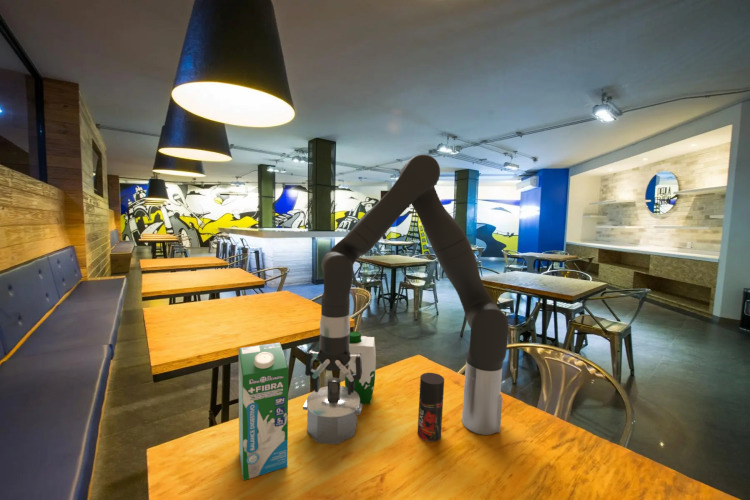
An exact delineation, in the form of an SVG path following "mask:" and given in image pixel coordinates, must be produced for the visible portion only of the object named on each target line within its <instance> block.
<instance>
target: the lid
mask: <svg viewBox="0 0 750 500" xmlns="http://www.w3.org/2000/svg"><path fill="white" fill-rule="evenodd" d="M306 400H307V408H308V410H309V411H310V412H311V413H312V414H314V415H316V416H319V417H322V418H341V417H345V416H348V415H350V414H352V413H353V412H355V411H356V410H357V409H358V407H359V405H360V397H359V395H358V393H357V392H356V391H353V393H351V395H348V387H345V385H344V386H343V385H341V379H340V378H339V377H331V378H329V379H327V386H322V387H320V389H319V391H318V392H315V390H313V391H312V392H311V393H309V395H307V398H306Z"/></svg>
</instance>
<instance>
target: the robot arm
mask: <svg viewBox="0 0 750 500" xmlns="http://www.w3.org/2000/svg"><path fill="white" fill-rule="evenodd" d="M440 175H441V168H440V164H439V162H438V161H437V159H435V158H434V157H433V156H431V155H429V154H426V153H425V154H423V153H422V154H416V155H415V156H413V157H410V158H409V159H408V160H407V161H406V163H405V164H404V165H403V166H402V168H401V170H400V171H399V175H398V178H397V179H396V181H395V182H394V183H393V185H392V186H391V188H390V189H389V190H388V191H387V192H386V193H385V194H384V195H383V197H381V199H379V200H378V201H377V202H376V203H375V204H374V205H373V206H372V207H371V208H370V209H369V210H368V211H367V212H366V213H365V214H364V215H363V216H362V217H360V219H359V220H358V222H356V224H355V225H354V226H353V227H352V228H351V229H350V230H349V232H347V234H346V235H345V236H344V237H343V238H342V239H341V240H339V241H338V242H337V243H336V244H335V245H334V246H333V247H331V248H330V249H329V250H328V252H326V254H325V255H324V256H323V258H322V260H321V263H320V266H321V270H322V273H323V293H322V294H321V303H320V304H321V305H320V306H321V307H320V308H321V313H320V322H319V351H314V349H310V350H308V352H307V354H306V357H305V358H306V359H305V360H306V361H305V376H306V377H309V376H310V377H311V378H312V390H313V391H315V392H318V391H319V389H320V388H321V385H320V384H321V375H320V374H322V372H323V371H324V370H326V371H327V372H328V371H329V372H333V371H334V372H342V374H343V376H345V375H346V377H347V378H348V379H349V381H348V395H351V393H353V391H354V387H355V380H360V379H361V376H362V355H361V353H358V354H357V355H351V354H350V352H349V342H350V332H351V320H350V319H351V318H350V304H351V303H350V295H351V291H352V290H351V289H352V283H353V278H354V277H353V275H354V274H353V273H354V272H353V271H354V270H353V269H354V267H353V264H354V263H355V262H356V261H357V260H358V259H359V258H361V257H362V256H365V255H367V254H368V253H369V252H370V251H371V250H372V249H373V248H375V247H374V246H376V245H377V243H378V242H379V241H380V240H381V239H382V237H384V235H385V234H387V232H388V231H389V229H390V228H391V227H392V226H393V225H394V224H395V222H396V221H397V220H398V218H399V217H400V216H401V215H403V213H404V212H405V211H406V210H407V209H408V208H409V206H412V208H413V209H414V211H415V213H416V214H417V216H418V218H419V220H420V223H421V225H422V228H423V230H424V232H425V235H426V237H427V240H428V241H429V244H430V246H431V248H432V250H433V253H434V256H435V257H436V259H437V261H438V263H439V265H440V268H441V269H442V270H443V272H444V274H445V276H446V277H447V279H448V280H449V283H451V285H452V287H453V288H454V289H455V291H456V294H457V296H458V297H459V301H460V303H461V305H462V306H461V307H462V309H463V311H464V315H465V317H466V321H467V324H468V326H469V328H470V335H469V338H470V339H469V346H468V347H469V348H468V349H467V350H466V356H465V372H464V373H465V374H464V386H463V387H464V389H463V399H462V400H463V401H462V403H463V404H462V413H461V417H462V418H461V423H462V425H463V426H464V427H465V428H466V429H467V430H469V431H470V432H473V433H475V434H478V435H484V436H489V435H493V434H495V433H501V424H502V413H503V411H502V410H503V401H504V400H503V396H502V394H501V391H502V390H501V389H502V380H503V379H502V376H503V365H504V360H505V359H506V355H507V349H508V341H509V340H508V339H509V331H510V329H509V328H510V327H509V320H508V317H507V316H506V315H505V313H504V312H503V311H502V310H501V309H500V308H499V307H498V306H497V305H496V304H495V302H494V300H493V299H492V298H491V296H490V294H489V293H488V290H487V289H486V286H485V285H484V283H483V281H482V279H481V275H480V270H479V266H478V263H477V259H476V256H475V253H474V251H473V248H472V245H471V243H470V241H469V239H468V237H467V235H466V233H465V231H464V230H463V228H462V227H461V225H460V224H459V223H458V222H457V221H456V219H455V218H454V217H453V216H452V215H451V214H450V213H449V212H448V211H447V209H446V208H445V206H444V205H443V203H442V202H441V200H440V196H439V195H438V193H437V190H436V188H435V186H436V185H437V183H438V181H439V180H440ZM316 359H317V360H318V361H319V362H320V364H319V366H317V368H316V369H314V368H313V367H314V361H315V360H316ZM350 360H352V361H353V363H354V364H356V373H354V372H353V371H352V369H351V367H350V365H349V364H348V362H349V361H350Z"/></svg>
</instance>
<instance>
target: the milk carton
mask: <svg viewBox="0 0 750 500" xmlns="http://www.w3.org/2000/svg"><path fill="white" fill-rule="evenodd" d="M288 426H289V366H288V363H287V360H286V356H285V353H284V351H283V347H282V344H281V342H275V343H274V342H273V343H265V344H260V345H259V344H257V345H253V346H246V347H239V348H238V453H239V461H240V469H241V475H242V481H246V480H249V479H253V478H255V477H258V476H261V475H262V476H263V475H265V474H268V473H271V472H272V473H273V472H275V471H278V470H281V469H283V468H287V467H288V446H289V445H288V442H289V441H288V436H289V434H288V432H289V431H288V429H289V427H288Z"/></svg>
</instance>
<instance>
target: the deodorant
mask: <svg viewBox="0 0 750 500" xmlns="http://www.w3.org/2000/svg"><path fill="white" fill-rule="evenodd" d="M419 380H420V381H419V399H418V416H417V435H418V437H419V439H421V440H422V441H425V442H428V443H429V442H430V443H436V442H438V441H440V439H441V436H442V425H443V424H442V423H443V406H444V405H443V404H444V390H445V389H444V388H445V378H444V377H443V376H442V375H440V374H438V373H435V372H425V373H422V374H420V379H419Z"/></svg>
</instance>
